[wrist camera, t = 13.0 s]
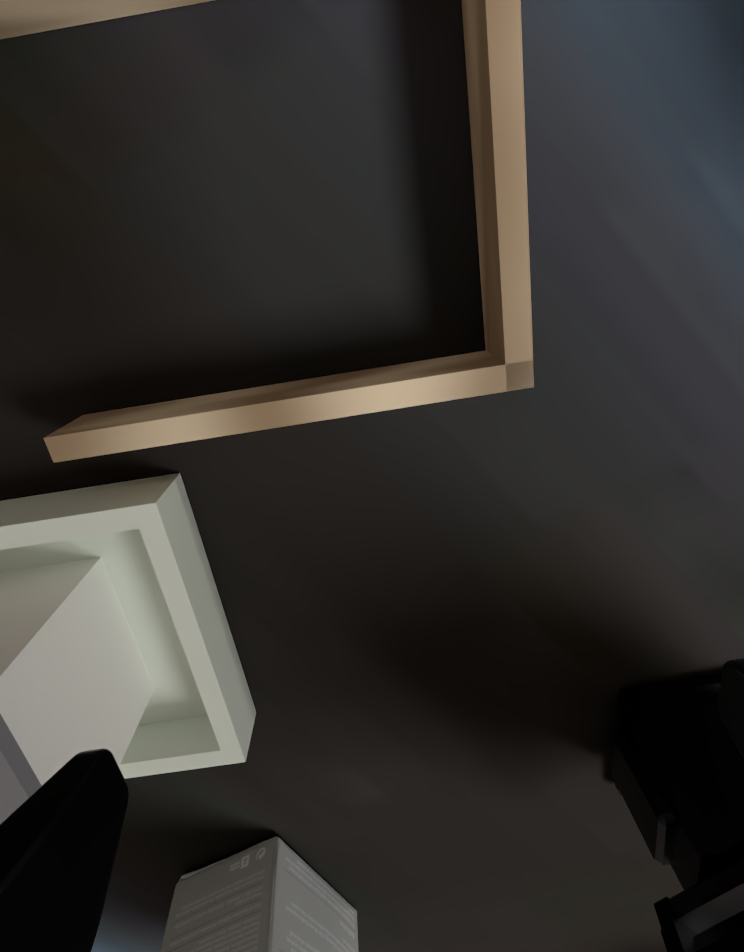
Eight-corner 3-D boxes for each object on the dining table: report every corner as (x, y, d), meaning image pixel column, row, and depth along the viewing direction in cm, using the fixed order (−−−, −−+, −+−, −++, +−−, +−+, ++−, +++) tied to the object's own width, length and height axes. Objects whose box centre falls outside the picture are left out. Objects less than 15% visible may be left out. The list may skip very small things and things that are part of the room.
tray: (179, 472, 19) (155, 502, 17) (256, 711, 23) (245, 762, 21) (-131, 521, 19) (-197, 557, 17) (2, 747, 24) (-35, 800, 21)
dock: (487, -91, 13) (515, -164, 11) (510, 370, 18) (534, 387, 16) (-70, 11, 14) (-155, -38, 11) (91, 436, 18) (53, 462, 16)
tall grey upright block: (100, 557, 19) (-26, 706, 13) (155, 688, 22) (71, 869, 15) (-15, 574, 20) (-197, 731, 13) (52, 703, 22) (-74, 888, 16)
